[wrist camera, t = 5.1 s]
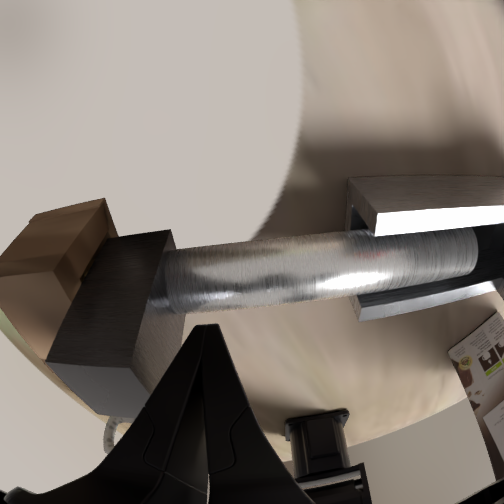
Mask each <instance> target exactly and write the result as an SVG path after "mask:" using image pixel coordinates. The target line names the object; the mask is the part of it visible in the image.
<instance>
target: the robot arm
mask: <svg viewBox="0 0 504 504" xmlns="http://www.w3.org/2000/svg"><path fill="white" fill-rule="evenodd" d="M144 406H145V407H143V408H142V409H141V411H140V413H139V414H138V416H137V417H136V419H135V420H134V422H133V423H132V425H131V426H130V428H129V429H128V430H127V431H126V433H125V434H124V435H123V437H122V438H121V439H120V441H119V442H118V443H117V444H116V445H115V446H114V448H113V449H112V450H111V451H110V453H109V454H108V455H107V456H106V457H105V459H104V460H103V461H102V462H101V463H100V464H99V466H97V467H96V468H95V469H94V470H93V471H92V472H90V473H89V474H87V475H85V476H83V477H81V478H79V479H76V480H74V481H72V482H70V483H67V484H65V485H63V486H60V487H58V488H56V489H53V490H51V491H48V492H45V493H41V494H36V493H33V492H31V491H28V490H26V489H24V488H21V487H16V488H14V489H13V490H11V491H10V492H8V493H7V492H4V491H2V490H0V504H207V488H208V473H209V482H210V494H209V502H208V504H372V501H371V496H370V491H369V486H368V481H367V476H366V471H365V467H364V463H360V464H358V465H355V466H352V467H351V465H350V460H349V455H348V450H347V445H346V440H345V435H344V430H343V427H344V425H345V423H346V421H347V419H348V417H349V415H350V414H349V411H348V410H345V411H340V412H335V413H329V414H324V415H318V416H312V417H305V418H298V419H290V420H286V421H285V438H286V441H290V442H291V451H292V460H293V468H294V476H295V479H294V478H293V477H292V475H291V474H290V473H289V471H288V470H287V468H286V467H285V465H284V464H283V462H282V461H281V459H280V458H279V456H278V455H277V453H276V452H275V450H274V449H273V447H272V446H271V444H270V443H269V441H268V440H267V438H266V436H265V434H264V433H263V431H262V429H261V427H260V425H259V423H258V421H257V419H256V417H255V415H254V412H253V410H252V407H251V406H250V403H249V401H248V398H247V396H246V393H245V391H244V388H243V386H242V383H241V381H240V378H239V376H238V373H237V371H236V368H235V366H234V363H233V361H232V358H231V355H230V353H229V350H228V348H227V345H226V342H225V340H224V337H223V334H222V332H221V329H220V326H219V324H207V325H206V324H203V325H196V326H195V327H194V328H193V330H192V331H191V333H190V334H189V336H188V337H187V339H186V340H185V342H184V344H183V345H182V347H181V348H180V350H179V351H178V353H177V354H176V356H175V358H174V359H173V361H172V362H171V364H170V365H169V367H168V369H167V370H166V372H165V373H164V375H163V376H162V378H161V380H160V381H159V383H158V384H157V386H156V387H155V389H154V391H153V392H152V394H151V395H150V397H149V399H148V400H147V402H146V403H145V405H144ZM359 475H361V478H360V479H357V480H353V479H352V480H348V481H344V482H340V483H335V484H331V485H326V486H322V487H316V488H311V489H305V490H303V489H302V488H304V487H310V486H316V485H321V484H326V483H330V482H335V481H339V480H343V479H347V478H351V477H355V476H359ZM455 504H504V477H503V478H501V479H499V480H497V481H495V482H494V483H492V484H490V485H488V486H486V487H484V488H483V489H481V490H479V491H477V492H475V493H474V494H472V495H470V496H468V497H466V498H465V499H463V500H461V501H459V502H457V503H455Z"/></svg>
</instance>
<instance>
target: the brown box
mask: <svg viewBox="0 0 504 504" xmlns="http://www.w3.org/2000/svg"><path fill="white" fill-rule="evenodd" d="M113 237H119V236H118V234H117V231H116V228H115V226H114V223H113V220H112V217H111V214H110V212H109V209H108V206H107V203H106V200H105V198H102V199H97V200H92V201H88V202H83V203H80V204H75V205H71V206H67V207H63V208H59V209H55V210H51V211H47V212H43V213H39V214H36V215H35V216H34V217H33V218H32V219H31V220H30V221H29V224H28V225H27V226H26V227H25V228H24V230H23V231H22V232H21V233H20V234H19V235H18V236H17V237H16V239H14V241H13V242H12V243H11V244H10V245H9V247H8V248H7V249H6V250H5V251H4V252H3V253H2V255H1V256H0V308H1V309H2V311H3V312H4V314H5V315H6V316H7V318H8V319H9V320H10V322H11V323H12V325H13V326H14V327H15V329H16V330H17V331H18V332H19V334H20V335H21V336H22V338H23V339H24V340H25V341H26V343H27V344H28V345H29V346H30V347H31V349H32V350H33V351H34V352H35V353H36V354H37V356H38V357H39V358H40V359H41V360H42V361H43V362H44V364H45V365H46V366H47V367H48V368H49V369H50V370H51V371H52V372H53V373H55V372H54V371H53V370H52V369H51V368H50V367H49V366H48V365H47V364H46V363H45V360H46V358H47V355H48V353H49V351H50V348H51V346H52V344H53V341H54V339H55V337H56V335H57V332H58V330H59V328H60V326H61V324H62V322H63V319H64V317H65V315H66V313H67V311H68V309H69V307H70V305H71V303H72V301H73V299H74V297H75V295H76V293H77V291H78V289H79V288H80V286H81V282H80V280H79V279H80V277H81V276H82V274H83V272H84V270H85V269H86V267H87V265H88V263H89V262H90V260H94V259H96V257H97V255H98V253H99V252H100V250H101V248H102V247H103V245H104V243H105V242H106V240H107V238H113Z"/></svg>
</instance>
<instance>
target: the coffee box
mask: <svg viewBox="0 0 504 504" xmlns="http://www.w3.org/2000/svg"><path fill="white" fill-rule="evenodd" d="M448 354H449V356H450V358H451V360H452V362H453V365H454V367H455V369H456V371H457V373H458V376H459V378H460V380H461V383H462V385H463V387H464V389H465V392H466V394H467V396H468V399H469V401H470V404H471V406H472V408H473V411H474V414H475V416H476V419H477V422H478V424H479V427H480V430H481V433H482V435H483V438H484V441H485V444H486V447H487V451H488V454H489V457H490V461H491V464H492V467H493V471H494V474H495V478H496V481H497V480H499V479H501V478H503V477H504V320H503V318H502V316H501V315H500V313H499V312H497V313H495V314H494V315H493V316H492V317H491V318H490V319H488V320H487V321H486V322H485V323H484V324H482V325H481V326H480V327H479V328H478V329H476V330H475V331H474V332H473V333H471V334H470V335H469V336H468V337H466V338H465V339H464V340H462V341H461V342H460V343H458V344H457V345H455V346H454V347H453V348H451V349H450V350H449V352H448Z"/></svg>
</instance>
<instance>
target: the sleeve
mask: <svg viewBox="0 0 504 504" xmlns="http://www.w3.org/2000/svg"><path fill="white" fill-rule="evenodd" d="M468 226H471V228H472V229H473V231H474V233H475V235H476V239H477V243H478V258H477V262H476V265H475V267H474V269H473V270H472V272H470V273H469V274H467V275H463V276H458V277H453V278H449V279H444V280H439V281H434V282H429V283H423V284H418V285H413V286H407V287H402V288H396V289H390V290H384V291H378V292H372V293H366V294H359V295H353V296H349V298H350V301H351V303H352V306H353V308H354V311H355V314H356V316H357V319H358V322H362V321H367V320H373V319H378V318H383V317H388V316H393V315H398V314H403V313H408V312H413V311H417V310H422V309H426V308H430V307H434V306H439V305H443V304H447V303H451V302H455V301H458V300H462V299H466V298H470V297H473V296H477V295H480V294H484V293H487V292H491V291H494V290H497V292H498V293H499V294H500V296H501V297H502V298H503V300H504V177H494V176H463V175H407V176H374V177H353V178H348V185H347V205H346V221H345V231H350V230H360V229H370V230H371V232H372V233H373V235H374V236H383V235H393V234H402V233H412V232H421V231H430V230H440V229H449V228H459V227H468Z"/></svg>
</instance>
